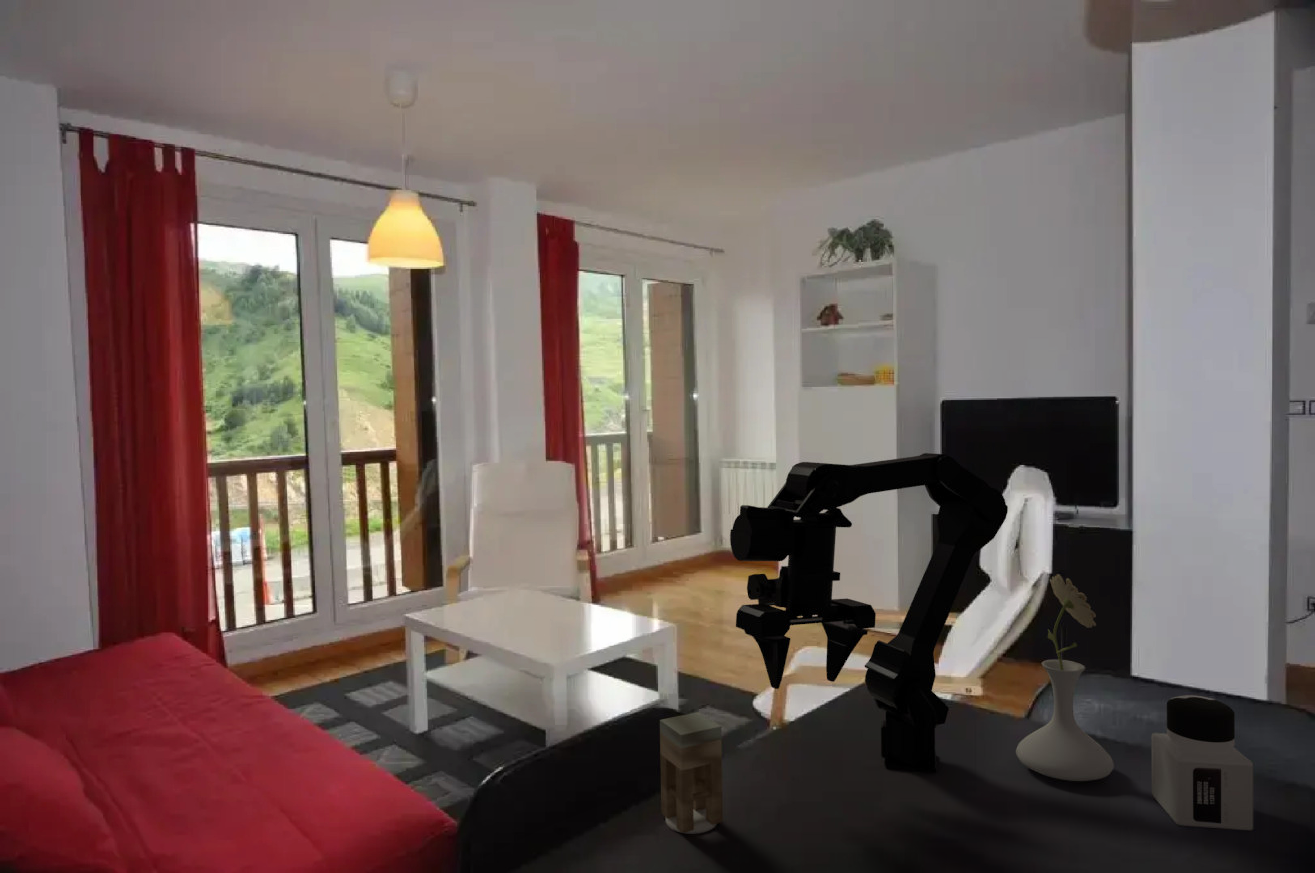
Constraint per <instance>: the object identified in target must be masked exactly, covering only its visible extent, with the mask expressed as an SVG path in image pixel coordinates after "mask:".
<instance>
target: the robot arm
mask: <svg viewBox="0 0 1315 873" xmlns="http://www.w3.org/2000/svg"><path fill="white" fill-rule="evenodd" d="M921 486H924V488H925V490H926V492H927V494H928V496H929V497H930V499H931V500H932V501H933V502H934V503H935V504H936V505H937V506H938V507H939V508H938V513H937V516H936V524H937V532H938V533H937V534H938V540H937V543H936V545H935V548H934V550H933V553H932V554H931V557H930V560H929V562H928V564H927V567H926V569H925V571H924V573H923V576H922V578H921V580H920V582H919V585H918V587H917V589H916V592H915V594H914V596H913V599H912V601H911V604H910V605H909V608H908V610H907V613H906V615H905V617H904V619H903V622H902V624H901V626H900V629H899V631H898V632H897V635H895V636H894V637H893V638H892V639H891V640H889V641H888V642H887V643H886V642H884V641H882V640H877V641H876V642H875V644H874V646H873V650H872V653H871V656H870V658H869V659H868V661H867V662H866V663H865V664H864V668H866V669H867V670H866V672H865V676H864V682H865V684H866V688H867V691H868V693H869V694H870V695H871V696H872V697H873V699H874V702H875V704H876V708H878V709H880V710H883V711H885V720H882V721H881V727H880V740H881V742H880V750H881V751H880V753H881V754H880V755H881V757H882V758H884V767H886V768H887V769H888V768H889V769H897V770H905V771H907V770H908V771H917V772H926V773H937V771H938V770H937V752H936V728H937V726H939V725H943V724H945V723H946V720H947V718H948V714H949V710H950V709H949V706H948V705H946V703H945V702H944V701H943V700H942V699H941V698H940V697H939V696H938V695H937V694H935V692H934V691H933V687H934V683H935V680H936V675H937V674H936V666H935V657H934V656H935V654H934V651H935V648H936V647H937V643H938V641H939V639H940V637H941V634H942V633H943V630H944V629H945V628H944V627H945V625H946V622H947V620H948V618H949V616H950V613H951V610H952V608H953V606H954V605H955V604H954V603H955V601H956V599H957V596H958V594H959V592H960V589H961V587H962V585H963V583H964V579H965V577H966V576H967V574H968V572H969V568H970V566H971V563H972V561H973V559H974V556H976V554H977V553H978V552H979V551H981V549H983V548H984V547H985V546H987V544H989V543H990V542H991V541H993V540H994V539H995V537H996V536H997V534H998V532H999V530H1000V529H1001V528H1002V526H1003V524H1004V522H1005V520H1006V519H1007V516H1008V509H1009V508H1008V505H1007V503H1006V499H1005V497H1004V496H1003V493H1002V492H1001V491H999V489H998V488H997V489H996V488H994V487H991V486H990V485H989V484H988V483H987V482H986V481H984V479H982V478H980V477H978V476H977V475H975V474H974V473H972V472H971V471H969V470H967V469H966V468H965V467H963V466H962V465H960V463H959V462H958V461H957V460H956V459H955V458H954V457H952V456H950V455H949V454H945V453H934V452H933V453H929V452H927V453H926V452H925V453H921V454H920V455H915V456H908V457H907V456H906V457H902V458H901V457H900V458H893V459H886V460H885V459H884V460H879V461H878V460H877V461H869V462H864V463H856V464H839V463H827V462H812V461H811V462H810V461H800V462H798V463H796V464H794V465H792V467H791V469H790V471H789V472H788V474H787V476H786V480H785V483H784V484H783V485H782V487H781V488H780V490H779V491H778V492H777V494H776V495H775V496H774V498H773V499H772V500H771V501H770V503H769V504H768V506H767V507H762V506H761V507H760V506H754V505H745V504H743V505H741V506H740V507H739V515H737V516H736V518H735V520H734V522H733V524H732V528H731V529H730V534H729V543H730V548H731V552H732V555H733V557H734V559H736V560H737V561H739V562H782V561H785V560H786V559H787V557H788V560H787V565H781V566H780V569H779V575H778V577H777V578H768V576H767V575H766V573H753V574H750V575H748V576H747V577H748V578H747V584H746V592H747V597H748V599H749V600H750V601H758V603H752V604H742V605H741V606H740V607H739V609H738V610H736V611H737V612H736V616H735V618H736V619H735V628H738V629H741V630H743V631H744V634H746V636H747V635H748V636H750V637H752V638H753V639H754V640H755V642H756V643H757V646H758V647H759V650H760V653H761V655H762V659H763V662H764V666H765V669H766V673H767V677H768V680H769V683H770V684H769V685H770V686H771V688H772V689H775V690H779V689H780V686H781V683H782V680H783V677H784V672H785V667H786V662H787V657H788V653H789V648H790V644H791V637H788V636H786V634H787V633H788V632H789V631H790V629H791V626H797V625H798V626H799V625H809V624H810V625H811V624H821V626H822V628H823V630H824V632H825V635H826V663H825V670H826V680H827V681H829V682H832V683H833V682H835V681H836V679H837V678H838V676H839V675H840V673H841V671H842V669H843V668H844V665H845V664H846V663H847V661H848V659H849V657H850V656H851V654H852V653H853V651H854V649H855V648H856V647H857V645H858V643H859V642H860V641H861V640H862V638H863V636H866V635H868V633H869V631H868V630H867V629H873V628H874V629H875V628H876V616H877V613H876V612H875V610H874V607H873V606H872V605H871V604H870V603H869V604H868V603H865V602H862V601H857V600H855V599H854V600H853V599H850V598H833V587H834V586H833V585H834V584H833V583H834V582H838V581H841V572H839V571H834V569H835V567H834V566H835V551H836V550H835V549H836V536H837V535H836V533H837V528H851V527H852V526H853V523H852V521H851V520H850V519H849V518H848V517H846V515H844V513H843V511H842V509H841V508H840V507H842V506H845V505H847V504H850V503H853V502H854V501H856V500H857V499H858V498H860V497H863V496H866V495H868V494H875V493H882V492H888V491H893V490H902V489H909V488H914V487H921ZM823 511H825V512H823ZM795 518H799V519H795ZM781 608H785V609H781Z"/></svg>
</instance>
